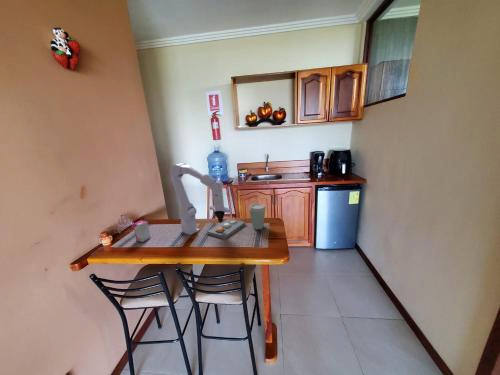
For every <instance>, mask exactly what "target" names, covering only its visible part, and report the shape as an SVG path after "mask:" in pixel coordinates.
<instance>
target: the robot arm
mask: <svg viewBox="0 0 500 375" xmlns="http://www.w3.org/2000/svg"><path fill="white" fill-rule="evenodd" d="M169 172H170V181H171V184H172V186H173V188H174V192H175V193H176V197H177V199H178V201H179V204H180V208H179V213H180V218H181V220H180V226H181V231H180V232H181V233H183V234H187V235H189V236H190V235H193V234H195V233H197V232H199V231H201V229H200V228H198V227H197V219H196V214H197V208H196V207H195V206H194V204H193V203H191V202H190V199H189V197H188V194H187V191H186V189H185V186H184V183H183V181H182V178H183V176H184V175H189V176H192V177H193V178H196V179H198V180H199V182H200V183H201V184H203V185H205V186H206V187H208V188H210V190H211V192H212V196H213V204H214V205H210V206H209V210H212V211H214V212H213V214H215V216H216V218H217V220H218V223H219V224H221V223H222V222H224V216H225V213H226V214H229V213H231V209H230V208H228V207H226V206H225V203H224V202H225V201H224V192H223V188H224V182H223V181H221V179H217V178H213V177H212V176H210V174H206V173H205V174H204V173H201V172H200V171H198V170H197V169H195V168H194V167H192V166H190V164H188V163H186V162H180V163H177V164H172V165H171V166H170V168H169Z"/></svg>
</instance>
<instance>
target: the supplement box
mask: <svg viewBox="0 0 500 375" xmlns="http://www.w3.org/2000/svg"><path fill="white" fill-rule="evenodd" d="M132 225H133V226H132V227H133V231H134V235H135V240H136V242H139V243H145V242H146V240H147V241H148V240H150V239H151V233H150V227H149V223H148V221H147V220H139V221H136V222H134V223H133V224H132ZM144 241H145V242H144Z"/></svg>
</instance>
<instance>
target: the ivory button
mask: <svg viewBox="0 0 500 375" xmlns="http://www.w3.org/2000/svg"><path fill="white" fill-rule="evenodd" d="M224 228H226V229H228V228H230V224H229V223H225V224H224Z"/></svg>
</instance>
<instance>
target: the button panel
mask: <svg viewBox="0 0 500 375" xmlns="http://www.w3.org/2000/svg"><path fill="white" fill-rule="evenodd" d="M230 221H236V224H234V225H233V224H230ZM225 223H229V224H230V228H227V229H226V228H224V224H225ZM244 226H246V222H245V221H241V220H237V219H231V218H228V219H225V220H223V222H221V223H219V224H217V225H216V226H214V227H212V228H211V229H209V230H207V231H206V232H207V235H209V236H213V237H215V238H220V239H223V240H227V239H228V238H229V237H231V236H232V235H233V234H235V233H236V232H238V231H239V230H240V229H241V228H243V227H244ZM218 227H223V232H222V233H217V228H218Z"/></svg>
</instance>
